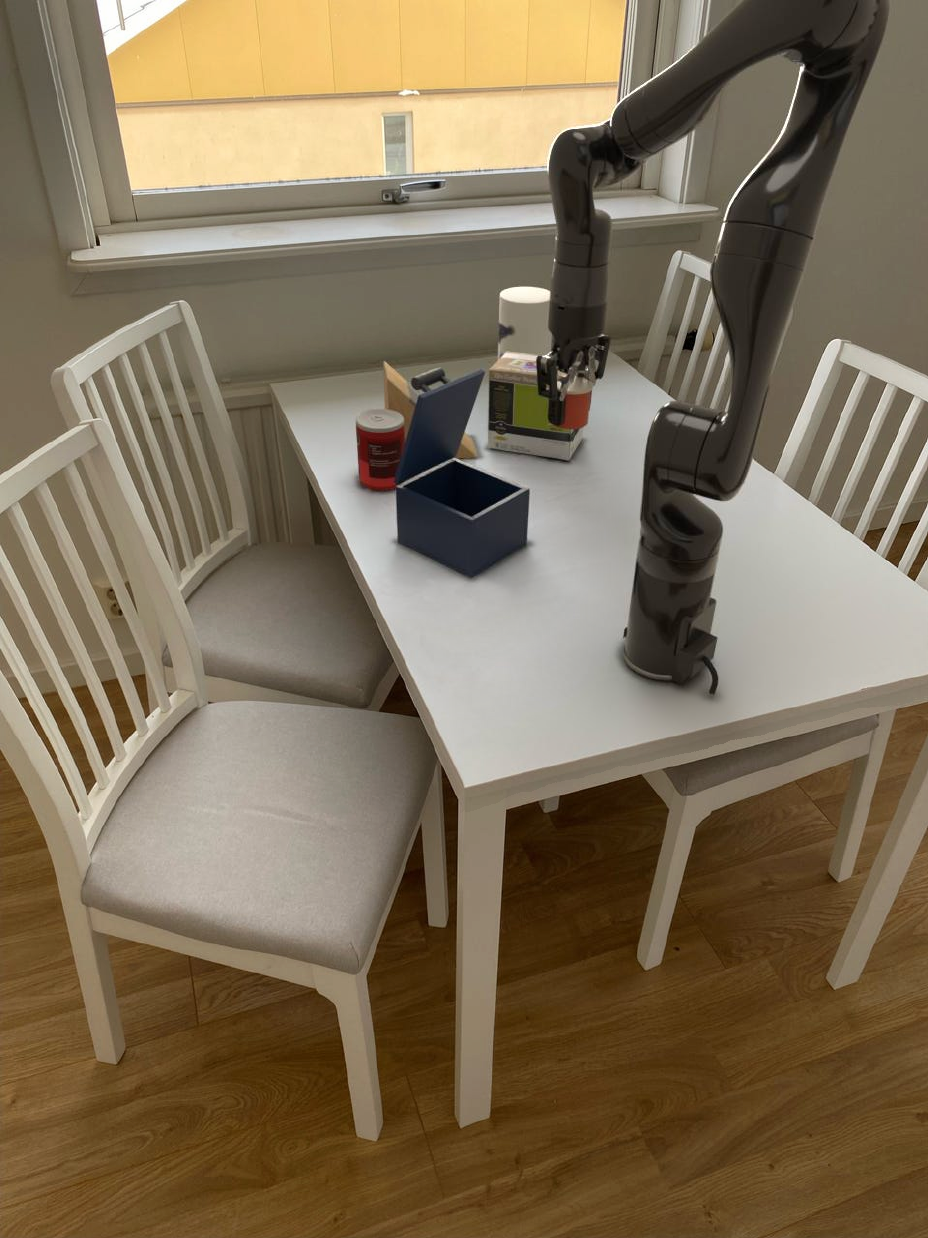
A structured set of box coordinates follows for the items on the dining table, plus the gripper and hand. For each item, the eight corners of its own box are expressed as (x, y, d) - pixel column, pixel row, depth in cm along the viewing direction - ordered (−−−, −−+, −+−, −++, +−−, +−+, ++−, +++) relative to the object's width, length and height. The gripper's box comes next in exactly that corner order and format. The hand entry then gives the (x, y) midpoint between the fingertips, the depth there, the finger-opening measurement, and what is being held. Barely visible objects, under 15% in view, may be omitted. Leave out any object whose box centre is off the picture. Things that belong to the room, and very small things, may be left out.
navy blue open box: (527, 544, 143) (530, 488, 138) (471, 578, 136) (471, 520, 130) (454, 511, 151) (454, 457, 146) (397, 542, 143) (395, 486, 138)
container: (488, 391, 190) (490, 289, 179) (532, 384, 194) (538, 282, 182) (511, 410, 183) (515, 304, 171) (557, 402, 186) (564, 298, 175)
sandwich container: (478, 457, 166) (480, 374, 158) (390, 463, 165) (386, 378, 156) (471, 436, 173) (472, 355, 165) (386, 441, 171) (382, 359, 163)
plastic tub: (597, 421, 136) (601, 383, 133) (572, 433, 132) (576, 395, 129) (564, 409, 139) (567, 372, 136) (539, 421, 135) (541, 383, 132)
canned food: (381, 465, 164) (378, 404, 157) (416, 479, 160) (414, 417, 153) (348, 481, 159) (344, 419, 153) (384, 496, 155) (381, 433, 148)
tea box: (583, 439, 173) (590, 359, 164) (568, 463, 165) (575, 380, 157) (503, 426, 177) (506, 348, 168) (485, 449, 169) (487, 367, 161)
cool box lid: (485, 371, 134) (458, 349, 136) (422, 398, 126) (394, 374, 128) (456, 456, 145) (431, 435, 147) (397, 485, 138) (371, 462, 139)
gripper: (587, 278, 132) (577, 395, 142) (521, 301, 123) (515, 425, 133) (633, 290, 128) (620, 410, 138) (568, 314, 119) (559, 441, 129)
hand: (568, 416), depth 135 cm, fingers closed on plastic tub, 5 cm apart
